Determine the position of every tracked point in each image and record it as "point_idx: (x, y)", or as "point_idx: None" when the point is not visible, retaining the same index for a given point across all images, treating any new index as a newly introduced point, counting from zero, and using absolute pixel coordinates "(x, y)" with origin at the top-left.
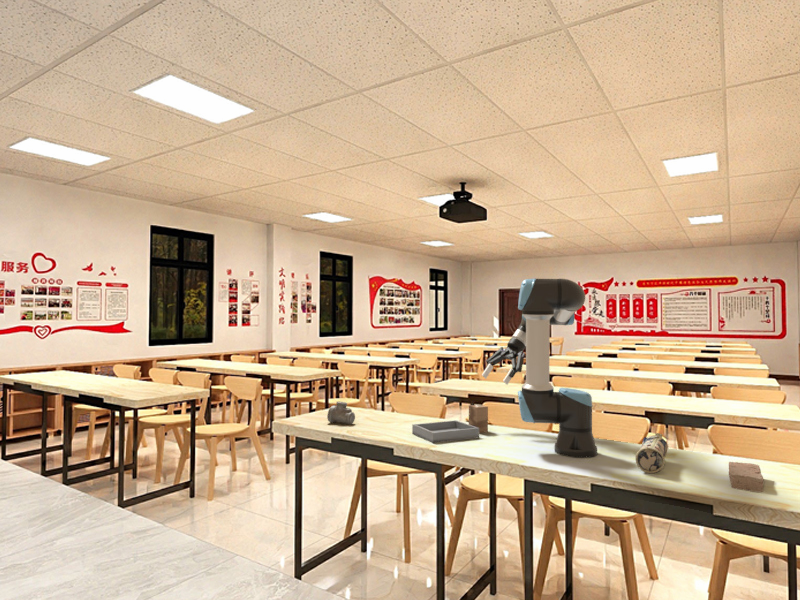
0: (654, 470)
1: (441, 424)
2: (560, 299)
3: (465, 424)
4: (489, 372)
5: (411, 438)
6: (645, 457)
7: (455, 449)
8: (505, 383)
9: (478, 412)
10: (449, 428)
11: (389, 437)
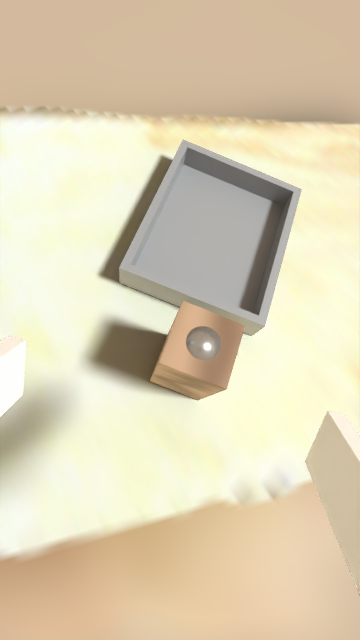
0: None
1: (269, 269)
2: None
3: (193, 289)
4: (336, 526)
5: None
6: None
7: (94, 143)
8: (22, 383)
9: (175, 318)
10: (253, 300)
11: (291, 151)
